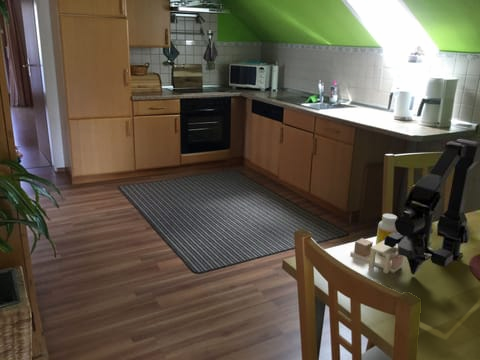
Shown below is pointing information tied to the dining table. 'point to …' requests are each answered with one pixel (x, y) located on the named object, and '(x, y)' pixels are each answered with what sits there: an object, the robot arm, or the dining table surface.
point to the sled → (363, 253)
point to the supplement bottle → (386, 227)
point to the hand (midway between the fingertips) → (413, 273)
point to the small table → (385, 252)
